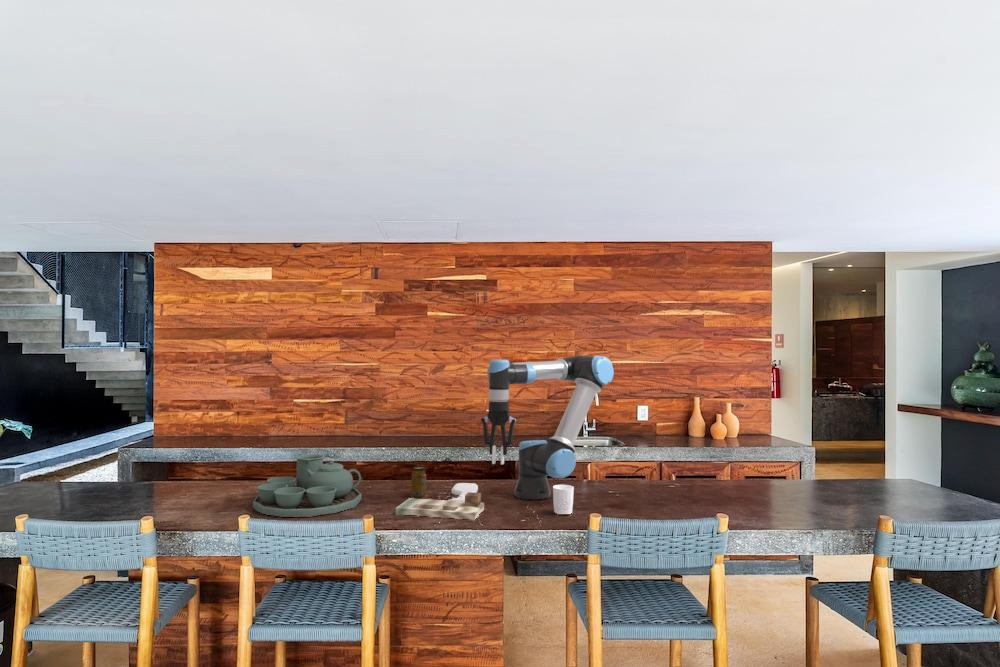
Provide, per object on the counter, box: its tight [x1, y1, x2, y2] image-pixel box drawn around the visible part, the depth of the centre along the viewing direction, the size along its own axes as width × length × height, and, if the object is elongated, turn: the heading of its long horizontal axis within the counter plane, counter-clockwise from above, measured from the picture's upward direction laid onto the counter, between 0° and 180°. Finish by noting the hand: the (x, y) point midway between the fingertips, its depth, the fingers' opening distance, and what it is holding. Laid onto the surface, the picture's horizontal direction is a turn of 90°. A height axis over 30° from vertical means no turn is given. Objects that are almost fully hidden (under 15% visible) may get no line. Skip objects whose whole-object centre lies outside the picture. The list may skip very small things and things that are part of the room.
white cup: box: [552, 484, 575, 514], centre depth 229 cm, size 8×8×10 cm
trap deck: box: [395, 497, 485, 521], centre depth 230 cm, size 30×15×2 cm, turn 79°
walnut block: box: [465, 492, 482, 507], centre depth 231 cm, size 5×5×4 cm
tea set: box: [252, 453, 363, 516], centre depth 239 cm, size 40×40×16 cm
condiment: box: [410, 466, 427, 498], centre depth 252 cm, size 7×8×12 cm
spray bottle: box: [448, 482, 479, 502], centre depth 255 cm, size 3×11×24 cm
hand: (498, 463), depth 229 cm, fingers open, 3 cm apart
